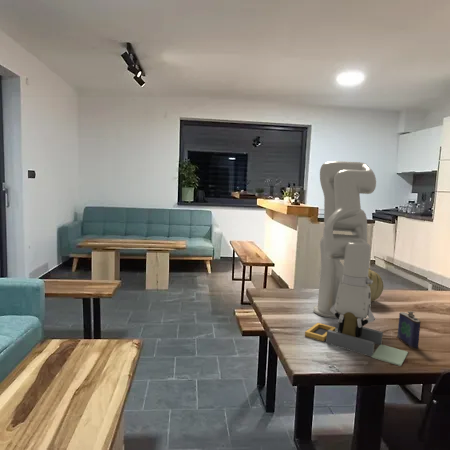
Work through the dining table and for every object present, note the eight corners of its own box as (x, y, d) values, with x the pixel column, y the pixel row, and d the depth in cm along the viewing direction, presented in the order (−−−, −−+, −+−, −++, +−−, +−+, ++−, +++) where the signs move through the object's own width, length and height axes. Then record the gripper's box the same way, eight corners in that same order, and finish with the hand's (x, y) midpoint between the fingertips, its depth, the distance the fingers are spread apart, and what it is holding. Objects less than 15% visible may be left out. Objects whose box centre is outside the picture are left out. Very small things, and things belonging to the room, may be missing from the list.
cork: (356, 348, 114) (360, 313, 113) (337, 342, 117) (340, 309, 116) (361, 341, 119) (364, 308, 118) (342, 336, 122) (345, 304, 121)
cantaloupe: (348, 304, 158) (351, 270, 156) (345, 294, 172) (347, 263, 171) (385, 308, 155) (388, 273, 153) (378, 298, 169) (381, 266, 167)
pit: (317, 326, 130) (317, 322, 130) (335, 331, 126) (335, 327, 126) (304, 336, 121) (305, 331, 121) (323, 341, 117) (324, 337, 117)
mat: (380, 345, 117) (380, 344, 117) (407, 353, 112) (408, 351, 112) (371, 357, 108) (371, 356, 108) (400, 366, 103) (401, 364, 103)
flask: (395, 337, 124) (398, 306, 123) (403, 337, 124) (406, 306, 123) (412, 349, 115) (416, 316, 114) (421, 349, 115) (425, 316, 114)
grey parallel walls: (338, 332, 126) (339, 320, 126) (381, 343, 118) (382, 331, 117) (326, 343, 116) (327, 331, 116) (371, 356, 108) (373, 343, 108)
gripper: (385, 283, 114) (380, 339, 116) (333, 273, 124) (328, 325, 126) (379, 288, 108) (374, 347, 110) (325, 277, 118) (320, 332, 120)
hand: (349, 335), depth 118 cm, fingers open, 4 cm apart
